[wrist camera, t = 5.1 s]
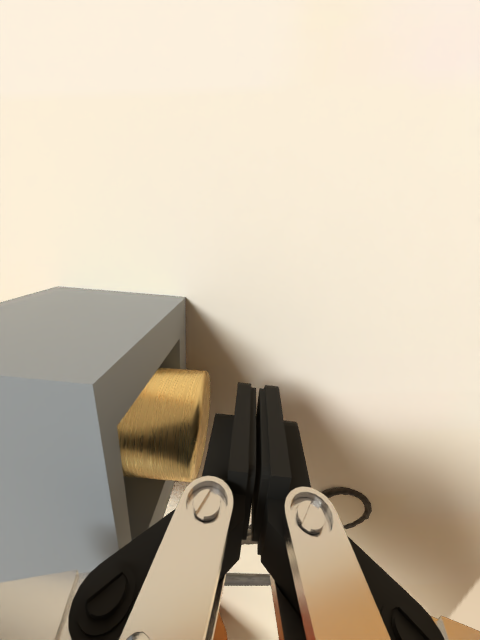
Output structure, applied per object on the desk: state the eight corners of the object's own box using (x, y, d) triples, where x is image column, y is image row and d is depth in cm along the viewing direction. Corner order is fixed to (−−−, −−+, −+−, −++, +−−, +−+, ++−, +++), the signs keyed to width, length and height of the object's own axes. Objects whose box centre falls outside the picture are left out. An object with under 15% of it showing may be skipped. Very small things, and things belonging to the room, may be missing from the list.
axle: (210, 354, 11) (187, 415, 7) (209, 426, 12) (190, 510, 9) (-85, 333, 12) (-249, 380, 8) (-57, 404, 13) (-185, 474, 9)
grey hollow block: (185, 297, 11) (92, 384, 5) (186, 445, 14) (130, 619, 8) (57, 286, 11) (-193, 357, 5) (85, 434, 14) (-51, 595, 8)
